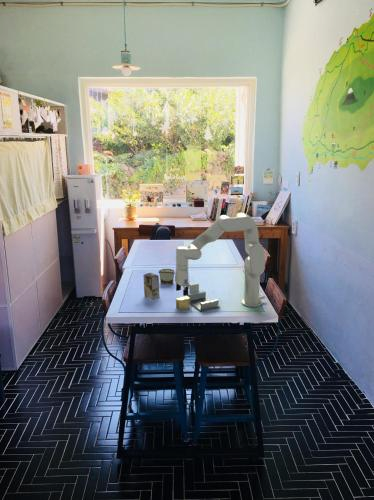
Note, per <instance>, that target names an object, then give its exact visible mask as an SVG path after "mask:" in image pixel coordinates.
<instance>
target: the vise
mask: <svg viewBox="0 0 374 500" xmlns="http://www.w3.org/2000/svg"><path fill="white" fill-rule="evenodd" d="M219 301H220V300H219V299H210V298H209V297H207V296H206V298H201V299H197V300H192V301H190V306H192V307H194V308H195V309H196V310H198V311H199V312H200V313H201V312H205V311H210V310H213V309H217V308H219V309H220V308H221V306H220V304H219Z"/></svg>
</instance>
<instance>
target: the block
mask: <svg viewBox="0 0 374 500" xmlns="http://www.w3.org/2000/svg"><path fill="white" fill-rule="evenodd" d="M175 309H176V310H177V311H179V312H180V311H184V310H185V311H186V310H188V309H191V304H190V298H189V297H188V296H187V295H186V296H181V297H177V298H175Z"/></svg>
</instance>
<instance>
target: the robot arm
mask: <svg viewBox="0 0 374 500" xmlns="http://www.w3.org/2000/svg"><path fill="white" fill-rule="evenodd" d="M225 232H226V233H227V232H228V233H230V232H231V233H232V232H234V233H235V232H243V233H244V251H245V253H246V254H247V255H248V256H247V257H246V258H245V260H244V262H243V268H244V291H243V293H244V296H243V299H242V300H241V304H242V305H243V306H245V307H249V308H257V307H259V306H261V305H262V300H265V299H266V296H265V295H260V287H261V286H260V282H261V281H260V280H261V275H263V273H264V271H265V267H266V266H265V265H266V260H265V259H266V257H265V248H264V247H263V245H262V244H261V243H260V240H259V229H258V225H257V223H256V221H255V220H254V218H253V217H252V216H250V215H249V214H247V213H245V212H238V213H237V214H236V215H235V217H230V216H228V215H226V214H222V215H220V216H219V217H217V219H216V220H214V222H213V223H212V224H211V225H210V226H208V228H207V229H206V230H205V231H204V232H202V233H200V234H199V235H198V236H197V237H196V238H195V239H194V240H193V241H192V242H190V244H189V245H188V246H187V247H186V246H178V247H176V249H175V271H174V272H175V274H174V281H175V290H176V292H177V291H181V290H182V288H183V290H182V293H183V294H182V297H185V296H187V295H188V293H189V290H190V288H189V284H190V283H189V260H193V261H196V260H199V259H201V257H202V251H201V250H202V249H203V248H204V247H205V246H206V245H207V244H209V243H212V242H213V243H214V242H216V241H217V240H218V239H219V238H220V237H221V236H222V235H223V234H224V233H225Z"/></svg>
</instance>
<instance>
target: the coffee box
mask: <svg viewBox="0 0 374 500" xmlns="http://www.w3.org/2000/svg"><path fill="white" fill-rule="evenodd" d="M142 276H143V277H142V278H143V291H144V298H146V299H149V300H150V301H151V300H152V301H155V300H157V299H160V282H159V279H160V276H159V274H155V273H152V272H149V273H145V274H143V275H142Z"/></svg>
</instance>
